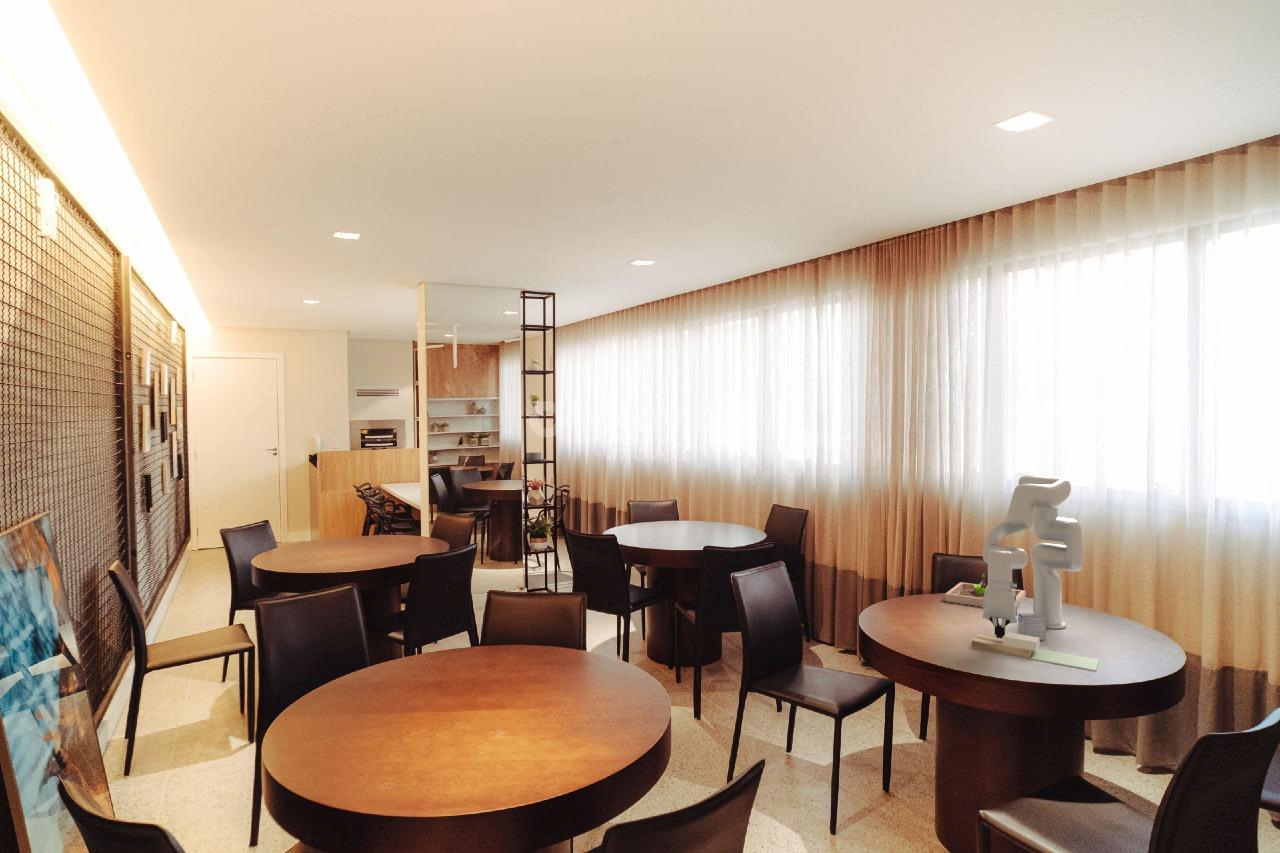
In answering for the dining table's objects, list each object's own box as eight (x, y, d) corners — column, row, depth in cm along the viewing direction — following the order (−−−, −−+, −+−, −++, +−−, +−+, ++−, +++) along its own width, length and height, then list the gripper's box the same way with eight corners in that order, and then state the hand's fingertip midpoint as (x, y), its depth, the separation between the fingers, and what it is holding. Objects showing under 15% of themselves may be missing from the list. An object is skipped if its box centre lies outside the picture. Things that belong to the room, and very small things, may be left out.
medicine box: (1040, 636, 253) (1040, 613, 252) (1046, 640, 248) (1046, 616, 248) (1017, 636, 253) (1017, 612, 253) (1023, 640, 249) (1023, 616, 249)
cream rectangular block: (1007, 640, 241) (1007, 632, 241) (1039, 646, 235) (1039, 637, 235) (1003, 644, 236) (1003, 636, 236) (1036, 651, 230) (1036, 642, 230)
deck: (978, 640, 249) (978, 633, 249) (1034, 650, 238) (1034, 643, 238) (971, 647, 241) (971, 640, 241) (1029, 658, 230) (1029, 651, 230)
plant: (1008, 596, 311) (1007, 572, 311) (1010, 607, 293) (1010, 581, 293) (959, 592, 319) (959, 568, 319) (959, 602, 302) (959, 577, 302)
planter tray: (960, 589, 323) (960, 582, 323) (1025, 598, 306) (1025, 590, 306) (945, 601, 302) (945, 593, 302) (1014, 612, 285) (1014, 603, 285)
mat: (1036, 649, 238) (1036, 648, 238) (1099, 660, 227) (1099, 659, 227) (1031, 659, 229) (1031, 658, 229) (1095, 671, 218) (1095, 670, 218)
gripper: (1026, 586, 238) (1026, 638, 238) (979, 580, 247) (979, 630, 248) (1021, 590, 232) (1021, 644, 232) (974, 584, 242) (974, 635, 242)
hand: (999, 637), depth 240 cm, fingers closed
